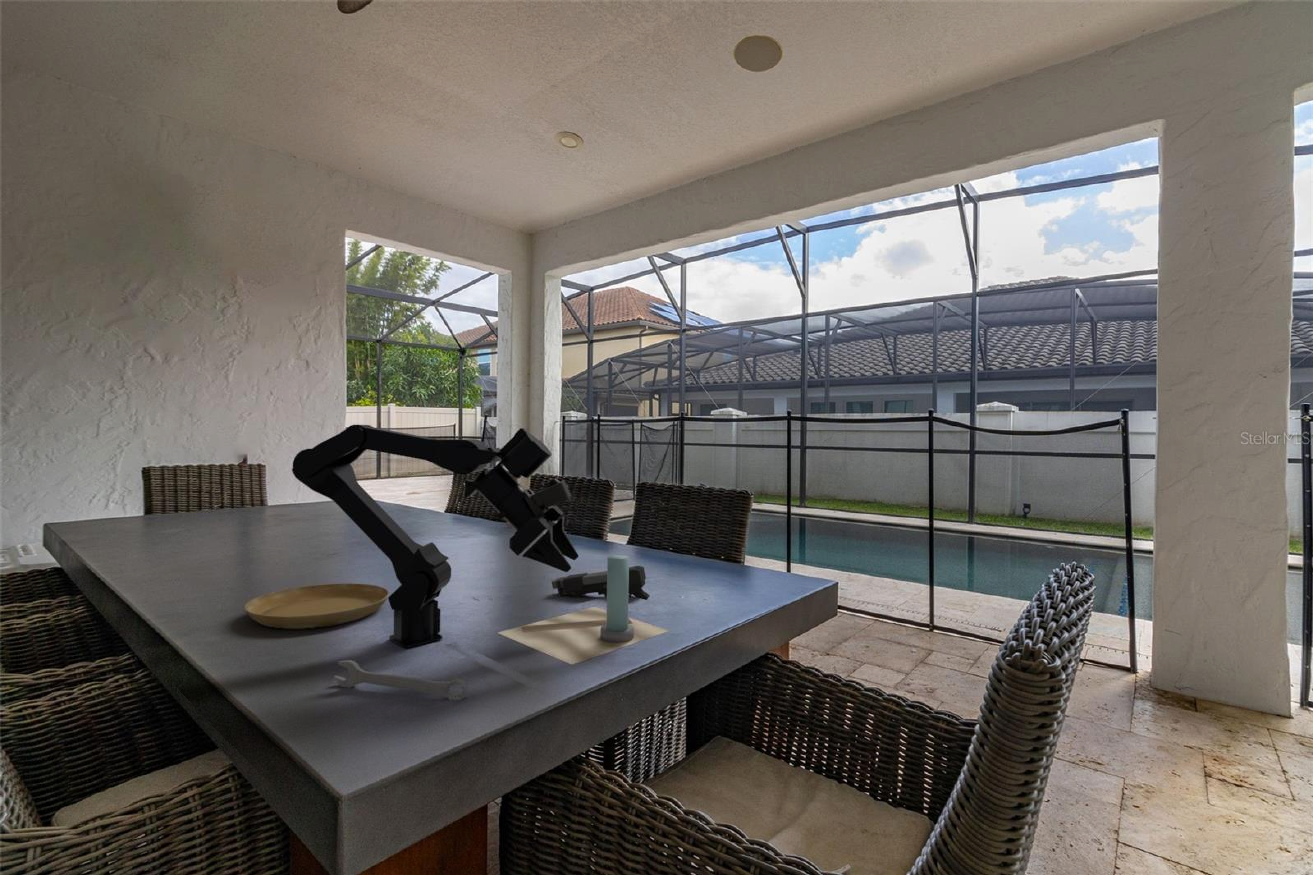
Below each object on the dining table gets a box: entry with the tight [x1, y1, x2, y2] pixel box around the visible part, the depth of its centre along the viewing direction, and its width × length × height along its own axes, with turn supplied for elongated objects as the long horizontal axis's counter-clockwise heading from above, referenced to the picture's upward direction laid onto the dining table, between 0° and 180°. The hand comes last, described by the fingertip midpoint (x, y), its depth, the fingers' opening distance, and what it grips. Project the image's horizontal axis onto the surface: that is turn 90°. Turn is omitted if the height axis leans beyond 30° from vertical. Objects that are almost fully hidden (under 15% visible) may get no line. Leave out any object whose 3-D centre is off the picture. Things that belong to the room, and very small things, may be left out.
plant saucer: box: [244, 582, 390, 630], centre depth 116 cm, size 24×24×3 cm
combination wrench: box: [333, 659, 469, 701], centre depth 82 cm, size 4×1×20 cm
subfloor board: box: [497, 606, 671, 666], centre depth 105 cm, size 22×20×1 cm
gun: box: [551, 565, 651, 601], centre depth 130 cm, size 4×20×10 cm, turn 77°
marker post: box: [600, 554, 634, 643], centre depth 102 cm, size 6×6×14 cm
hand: (573, 563), depth 102 cm, fingers open, 9 cm apart
